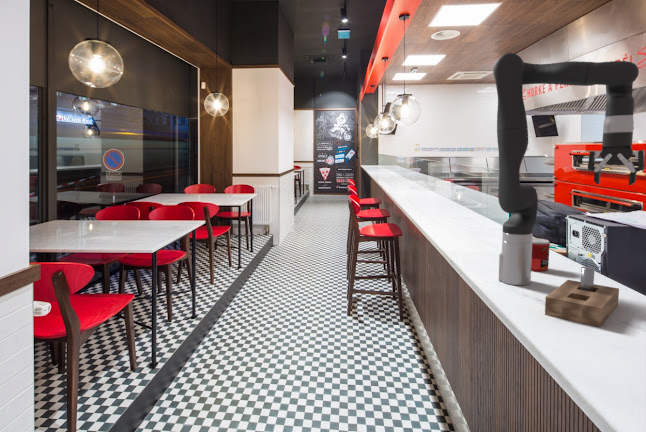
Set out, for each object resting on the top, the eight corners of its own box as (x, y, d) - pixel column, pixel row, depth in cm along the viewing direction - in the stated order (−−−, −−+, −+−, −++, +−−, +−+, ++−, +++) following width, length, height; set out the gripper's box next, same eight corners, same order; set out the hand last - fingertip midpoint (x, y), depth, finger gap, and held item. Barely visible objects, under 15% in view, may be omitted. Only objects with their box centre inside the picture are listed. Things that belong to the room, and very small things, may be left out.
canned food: (545, 273, 152) (546, 243, 151) (521, 269, 158) (523, 240, 156) (550, 268, 158) (552, 239, 156) (528, 265, 163) (529, 237, 162)
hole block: (544, 314, 115) (545, 296, 115) (567, 295, 129) (568, 279, 128) (600, 327, 106) (601, 308, 105) (617, 305, 120) (619, 288, 119)
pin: (577, 302, 121) (579, 268, 119) (581, 299, 123) (583, 266, 122) (590, 304, 119) (592, 270, 117) (593, 301, 121) (595, 267, 119)
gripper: (587, 132, 130) (584, 184, 133) (644, 129, 120) (640, 186, 123) (593, 132, 135) (590, 183, 138) (649, 130, 125) (644, 184, 128)
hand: (614, 184), depth 130 cm, fingers open, 8 cm apart
